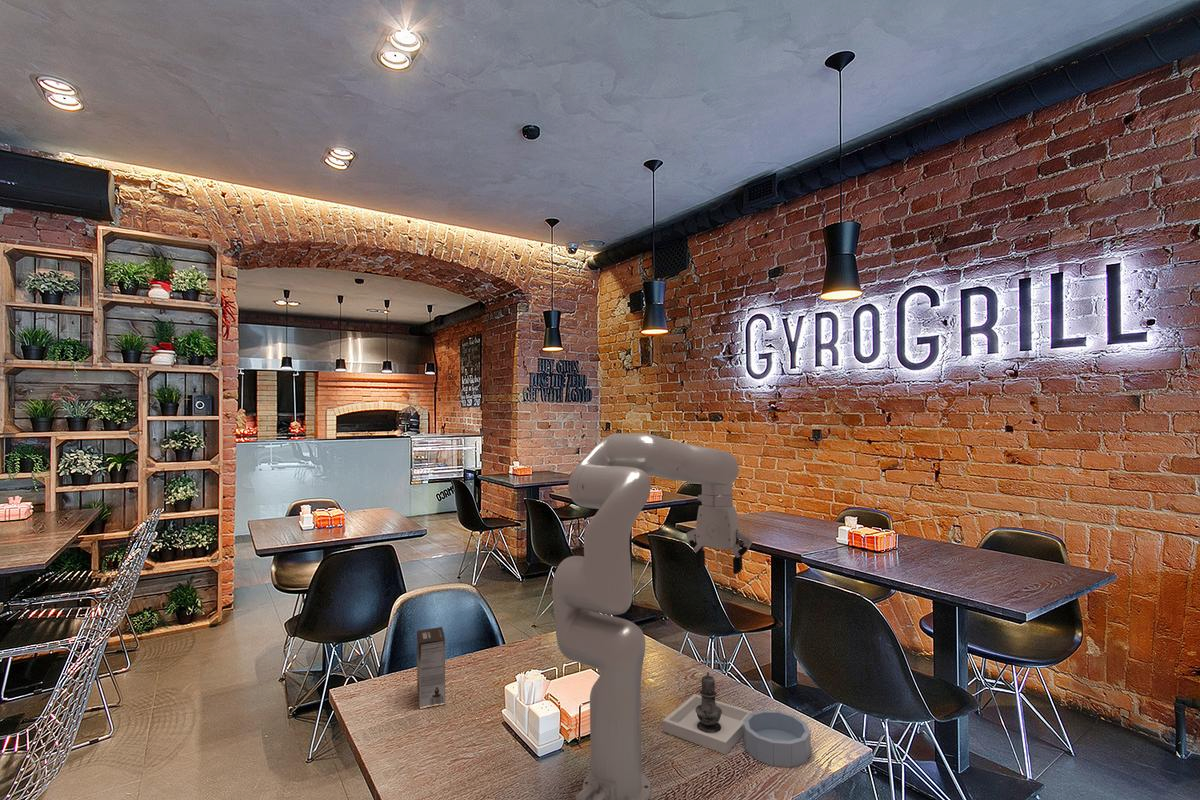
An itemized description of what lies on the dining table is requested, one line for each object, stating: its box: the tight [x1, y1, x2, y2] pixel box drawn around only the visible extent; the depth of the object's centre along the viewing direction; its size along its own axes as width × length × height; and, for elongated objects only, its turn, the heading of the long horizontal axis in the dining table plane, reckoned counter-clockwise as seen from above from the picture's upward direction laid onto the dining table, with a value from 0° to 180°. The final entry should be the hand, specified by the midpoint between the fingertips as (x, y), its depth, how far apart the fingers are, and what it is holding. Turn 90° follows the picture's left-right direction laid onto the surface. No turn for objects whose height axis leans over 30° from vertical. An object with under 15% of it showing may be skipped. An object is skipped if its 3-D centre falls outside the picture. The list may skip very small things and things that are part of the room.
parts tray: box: [662, 693, 754, 756], centre depth 128 cm, size 15×15×2 cm
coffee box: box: [416, 626, 446, 707], centre depth 143 cm, size 9×6×16 cm
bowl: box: [743, 709, 812, 768], centre depth 120 cm, size 13×13×4 cm
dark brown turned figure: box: [695, 671, 722, 733], centre depth 128 cm, size 6×6×12 cm
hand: (718, 569), depth 143 cm, fingers open, 9 cm apart
